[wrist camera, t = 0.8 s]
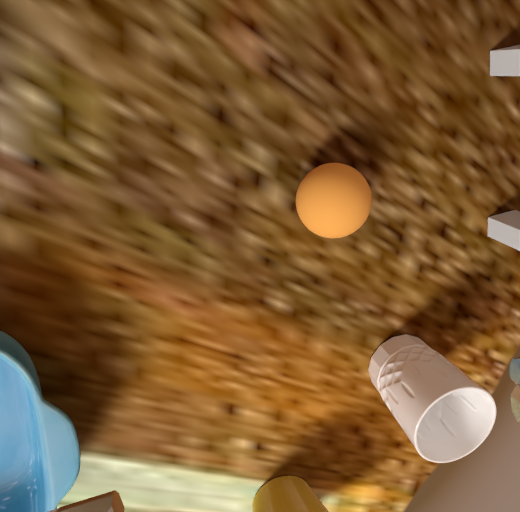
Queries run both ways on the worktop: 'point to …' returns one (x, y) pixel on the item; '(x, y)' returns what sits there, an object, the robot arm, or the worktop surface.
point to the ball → (333, 200)
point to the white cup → (431, 399)
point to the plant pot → (287, 496)
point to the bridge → (513, 222)
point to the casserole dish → (32, 438)
